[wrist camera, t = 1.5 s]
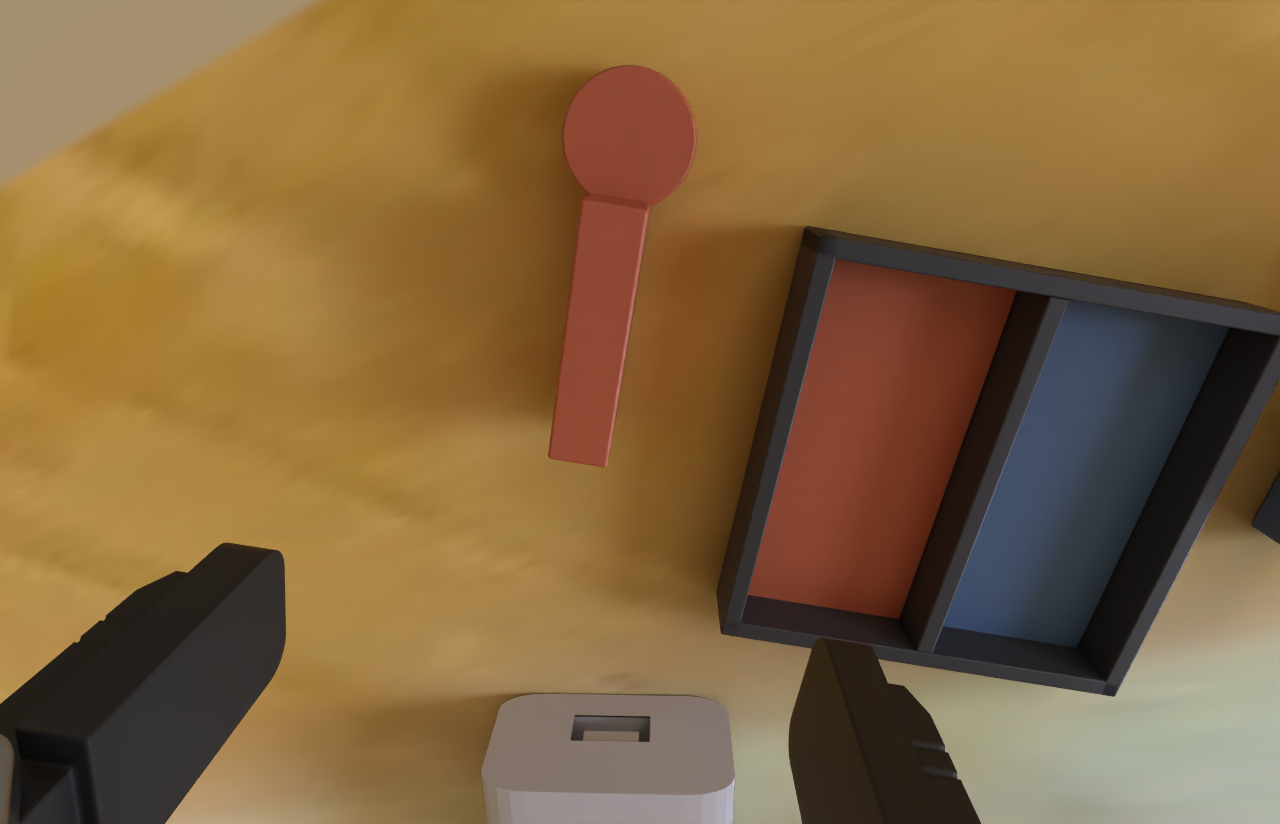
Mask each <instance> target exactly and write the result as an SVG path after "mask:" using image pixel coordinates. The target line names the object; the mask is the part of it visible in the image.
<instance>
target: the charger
mask: <svg viewBox="0 0 1280 824" xmlns="http://www.w3.org/2000/svg"><path fill="white" fill-rule="evenodd" d="M481 775H482V783H483V791H484V799H485V807H486V816H487V824H733V805H734V783H735V772H734V763H733V753H732V744H731V734H730V725H729V715H728V711H727V709H726V707H724V706H723V705H721V704H720V703H718V702H715V701H713V700H710V699H705V698H700V697H692V696H658V695H596V694H531V695H525V696H519V697H516V698H513V699H510V700H508V701H507V702H505V703H503V704H502V706H501V707H500V708H499V712H498V715H497V719H496V722H495V725H494V729H493V732H492V735H491V739H490V742H489V745H488V749H487V752H486V756H485V759H484V762H483V766H482V769H481Z"/></svg>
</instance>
